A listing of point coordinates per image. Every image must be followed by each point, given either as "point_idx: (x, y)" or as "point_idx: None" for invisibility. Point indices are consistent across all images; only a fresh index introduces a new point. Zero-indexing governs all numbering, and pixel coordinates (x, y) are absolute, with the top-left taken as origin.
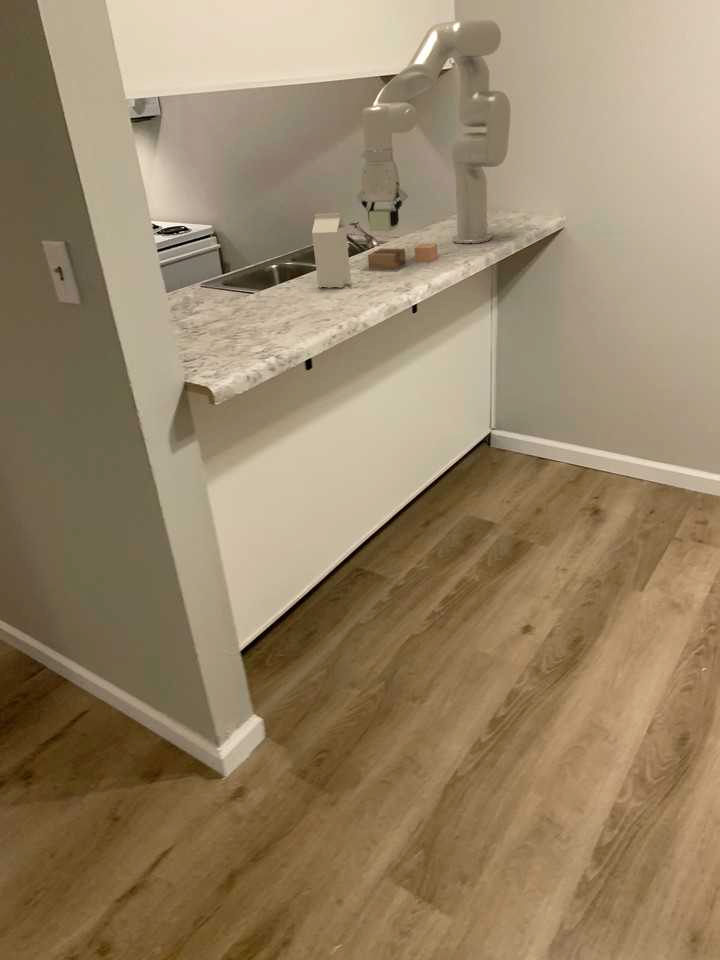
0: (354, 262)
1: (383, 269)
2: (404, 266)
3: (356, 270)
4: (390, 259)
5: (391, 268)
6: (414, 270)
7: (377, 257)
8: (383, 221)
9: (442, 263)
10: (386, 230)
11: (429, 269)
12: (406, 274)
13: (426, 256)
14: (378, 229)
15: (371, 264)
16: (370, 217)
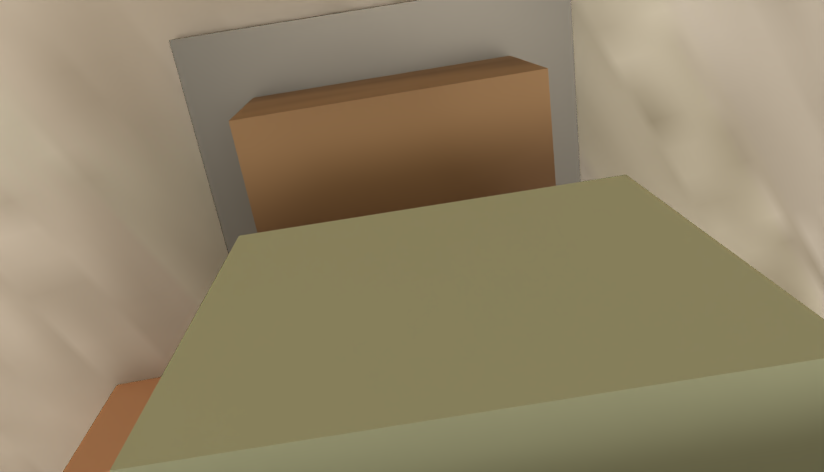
0: (791, 276)
1: (357, 76)
2: (231, 221)
3: (648, 59)
4: (267, 108)
5: (275, 95)
6: (127, 210)
7: (423, 84)
8: (320, 295)
9: (65, 443)
10: (282, 235)
11: (25, 273)
12: (96, 71)
13: (132, 419)
14: (447, 212)
15: (489, 64)
16: (713, 276)
